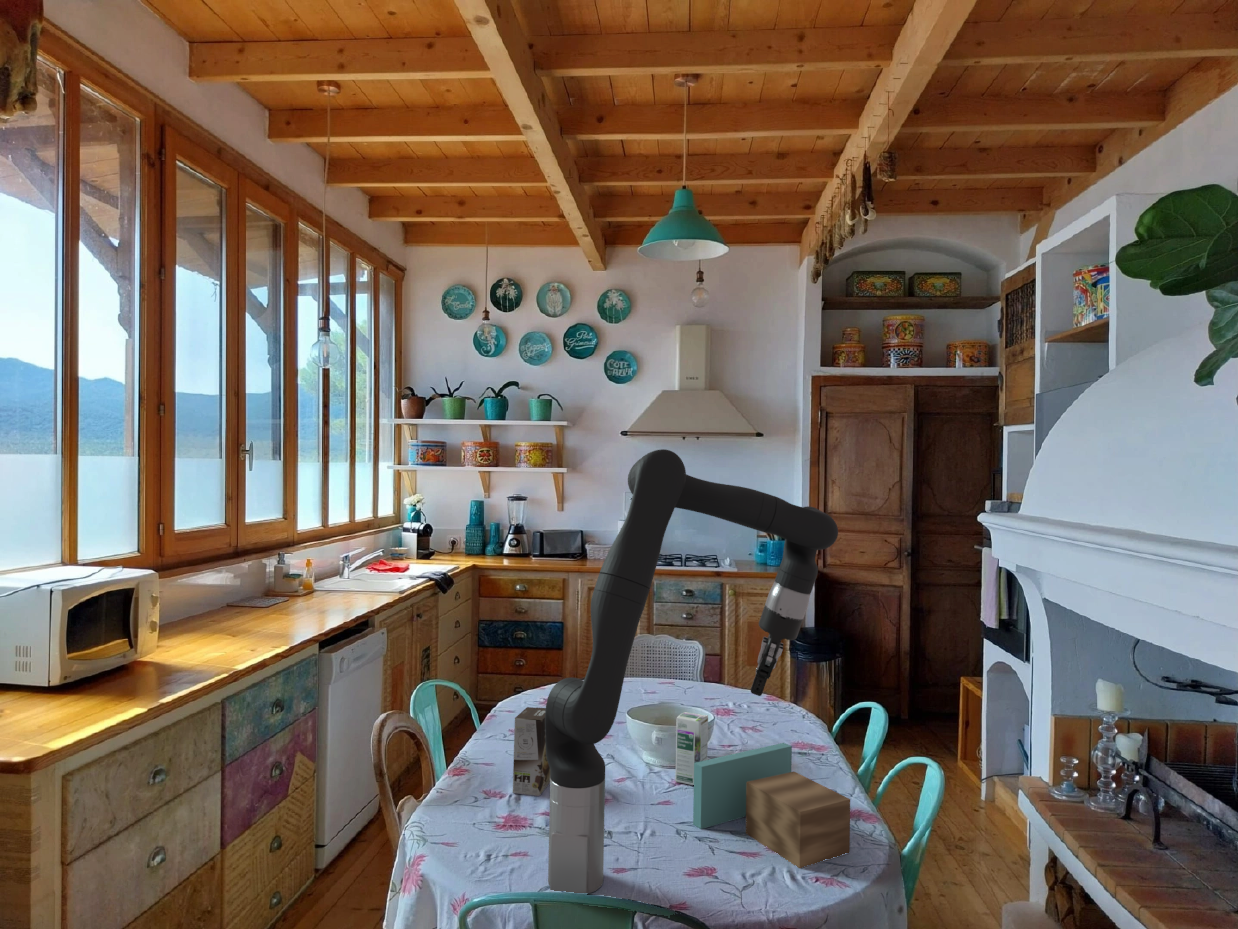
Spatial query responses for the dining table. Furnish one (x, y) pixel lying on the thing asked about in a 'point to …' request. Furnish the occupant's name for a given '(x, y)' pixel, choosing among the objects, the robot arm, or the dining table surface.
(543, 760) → the coffee box
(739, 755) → the teal board
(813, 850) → the walnut block
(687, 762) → the syrup box
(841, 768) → the dining table surface
